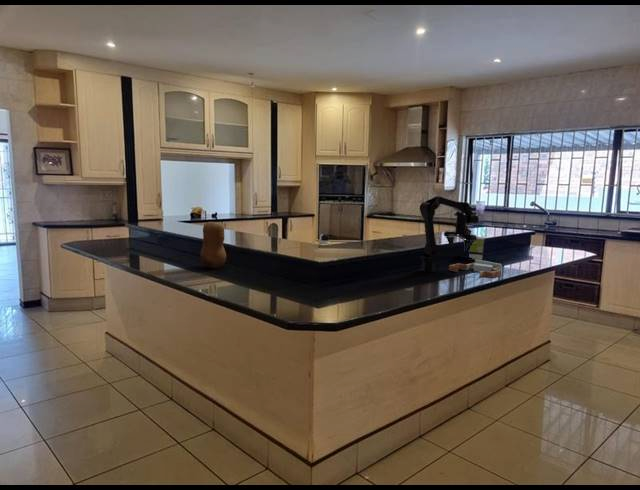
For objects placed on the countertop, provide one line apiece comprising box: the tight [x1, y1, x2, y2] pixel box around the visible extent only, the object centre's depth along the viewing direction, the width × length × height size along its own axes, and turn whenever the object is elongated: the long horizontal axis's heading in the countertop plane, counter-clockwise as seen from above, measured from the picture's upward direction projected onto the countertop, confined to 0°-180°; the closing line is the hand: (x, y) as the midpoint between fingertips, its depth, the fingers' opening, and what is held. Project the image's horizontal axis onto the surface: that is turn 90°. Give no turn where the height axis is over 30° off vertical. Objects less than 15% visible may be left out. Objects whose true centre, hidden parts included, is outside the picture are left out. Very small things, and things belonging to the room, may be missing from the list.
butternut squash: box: [200, 221, 227, 269], centre depth 244 cm, size 14×13×25 cm
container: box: [317, 233, 331, 245], centre depth 298 cm, size 8×8×13 cm
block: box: [473, 262, 493, 273], centre depth 265 cm, size 6×10×4 cm, turn 65°
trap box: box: [448, 262, 502, 279], centre depth 262 cm, size 22×24×3 cm
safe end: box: [474, 259, 503, 271], centre depth 269 cm, size 1×16×5 cm, turn 41°
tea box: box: [460, 236, 485, 261], centre depth 305 cm, size 15×10×15 cm, turn 73°
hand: (458, 250), depth 265 cm, fingers open, 9 cm apart
